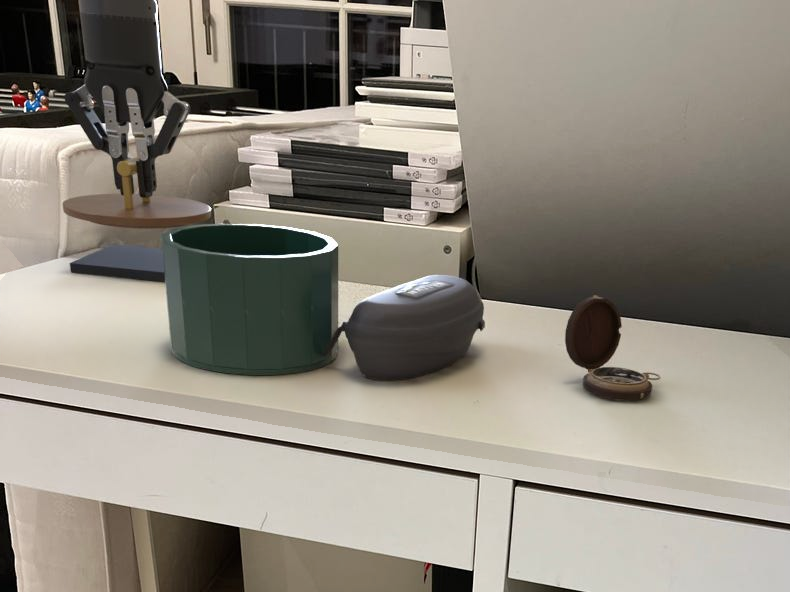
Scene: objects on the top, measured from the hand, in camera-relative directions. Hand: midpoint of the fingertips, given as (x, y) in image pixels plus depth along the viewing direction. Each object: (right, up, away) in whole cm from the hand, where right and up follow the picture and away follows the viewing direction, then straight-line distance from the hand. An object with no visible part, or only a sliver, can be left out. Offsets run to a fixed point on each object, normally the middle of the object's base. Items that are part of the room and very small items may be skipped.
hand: (137, 195), depth 109 cm
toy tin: (+18, -23, -20) cm, 36 cm away
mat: (-1, -6, +4) cm, 8 cm away
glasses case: (+32, -24, -19) cm, 44 cm away
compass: (+51, -27, -21) cm, 61 cm away
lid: (0, -1, +1) cm, 2 cm away
